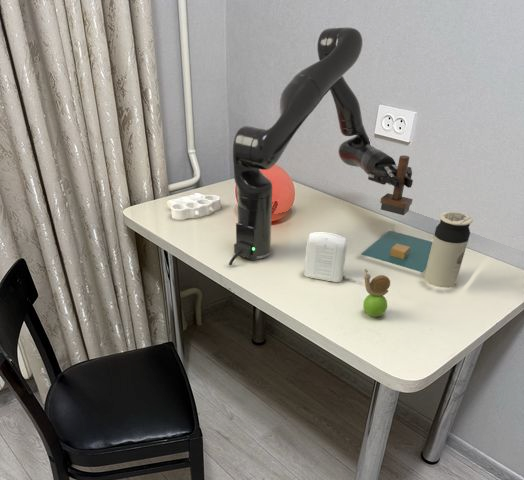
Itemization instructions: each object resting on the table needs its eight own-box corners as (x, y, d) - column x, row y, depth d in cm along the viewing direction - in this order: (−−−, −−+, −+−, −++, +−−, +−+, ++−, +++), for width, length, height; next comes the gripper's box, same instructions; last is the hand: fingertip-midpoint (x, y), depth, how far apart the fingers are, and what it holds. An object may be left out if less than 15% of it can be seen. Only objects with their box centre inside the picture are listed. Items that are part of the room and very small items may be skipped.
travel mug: (416, 281, 129) (432, 215, 119) (435, 273, 133) (452, 208, 122) (442, 294, 125) (460, 226, 114) (461, 285, 128) (480, 218, 117)
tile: (421, 276, 132) (422, 272, 131) (360, 257, 140) (360, 253, 139) (446, 249, 145) (447, 245, 144) (388, 233, 153) (389, 230, 152)
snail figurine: (355, 308, 119) (362, 263, 111) (381, 307, 119) (390, 263, 112) (360, 321, 114) (368, 275, 107) (387, 320, 115) (397, 274, 108)
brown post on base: (404, 216, 139) (414, 161, 130) (379, 209, 143) (388, 156, 134) (410, 210, 142) (421, 157, 133) (385, 204, 146) (394, 152, 137)
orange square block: (403, 259, 137) (404, 252, 135) (389, 255, 139) (391, 248, 137) (408, 254, 139) (410, 247, 138) (395, 250, 141) (396, 243, 140)
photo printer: (343, 276, 131) (349, 232, 124) (341, 284, 128) (346, 239, 120) (306, 270, 133) (309, 227, 126) (302, 277, 130) (305, 233, 123)
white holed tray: (204, 198, 174) (228, 211, 165) (159, 210, 165) (183, 224, 156) (203, 188, 172) (228, 201, 163) (158, 200, 163) (182, 214, 154)
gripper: (357, 153, 144) (384, 172, 131) (400, 150, 147) (431, 168, 134) (354, 179, 149) (379, 200, 136) (396, 175, 152) (425, 195, 139)
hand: (405, 184), depth 135 cm, fingers closed on brown post on base, 2 cm apart
